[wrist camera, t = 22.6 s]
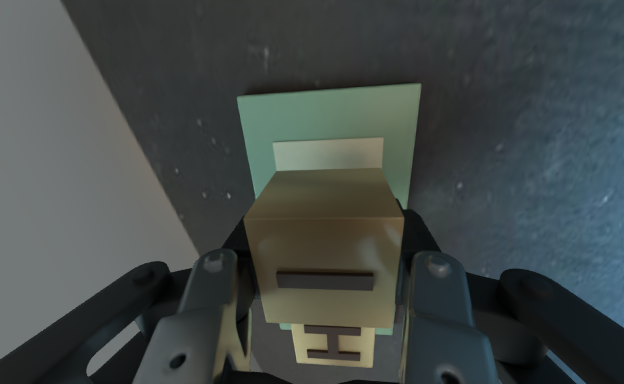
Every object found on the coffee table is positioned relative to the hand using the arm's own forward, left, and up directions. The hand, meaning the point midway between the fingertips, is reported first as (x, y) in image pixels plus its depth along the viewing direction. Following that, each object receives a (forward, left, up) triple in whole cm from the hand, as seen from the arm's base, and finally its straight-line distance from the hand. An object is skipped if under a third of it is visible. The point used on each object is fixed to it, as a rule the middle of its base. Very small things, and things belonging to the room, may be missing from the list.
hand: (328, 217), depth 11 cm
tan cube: (0, 0, 0) cm, 0 cm away
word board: (0, -4, -4) cm, 5 cm away
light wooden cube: (0, -7, -3) cm, 8 cm away
